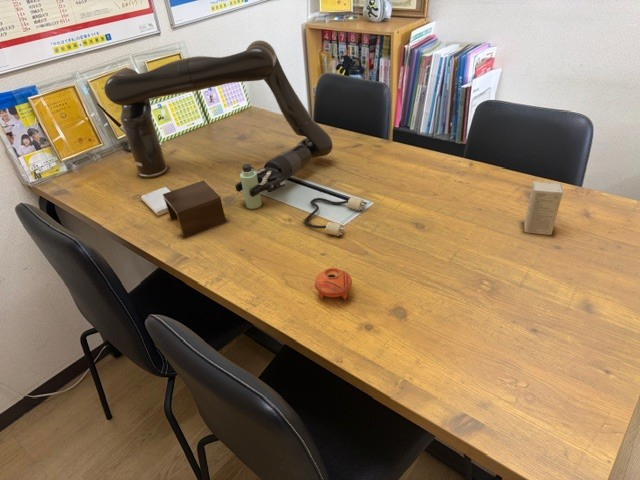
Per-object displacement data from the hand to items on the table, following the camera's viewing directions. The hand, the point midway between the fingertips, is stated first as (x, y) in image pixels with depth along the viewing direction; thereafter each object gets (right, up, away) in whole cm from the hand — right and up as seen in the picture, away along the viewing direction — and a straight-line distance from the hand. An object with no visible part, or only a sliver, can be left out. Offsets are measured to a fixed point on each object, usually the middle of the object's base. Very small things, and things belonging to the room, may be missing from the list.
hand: (243, 191), depth 124 cm
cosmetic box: (+75, -11, -14) cm, 77 cm away
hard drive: (-26, -3, +10) cm, 28 cm away
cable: (+24, -8, -3) cm, 25 cm away
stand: (-13, -8, +1) cm, 15 cm away
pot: (+24, -25, -27) cm, 45 cm away
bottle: (+2, -3, +5) cm, 6 cm away
